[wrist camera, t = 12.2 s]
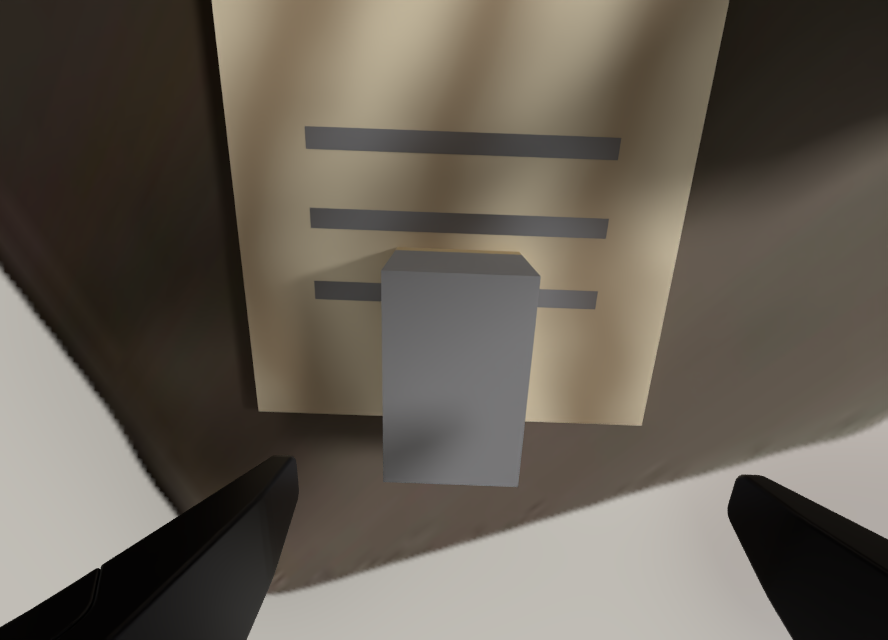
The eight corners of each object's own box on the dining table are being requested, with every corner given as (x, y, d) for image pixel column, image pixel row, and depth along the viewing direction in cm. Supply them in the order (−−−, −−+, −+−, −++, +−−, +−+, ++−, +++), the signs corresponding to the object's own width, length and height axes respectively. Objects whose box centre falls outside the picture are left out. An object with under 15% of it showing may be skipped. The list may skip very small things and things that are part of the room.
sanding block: (519, 251, 18) (540, 276, 14) (503, 421, 20) (517, 487, 16) (397, 247, 18) (381, 270, 14) (397, 417, 20) (383, 481, 16)
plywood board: (744, -166, 15) (770, -196, 13) (631, 412, 22) (641, 425, 20) (207, -186, 15) (186, -217, 13) (268, 398, 22) (258, 411, 20)
